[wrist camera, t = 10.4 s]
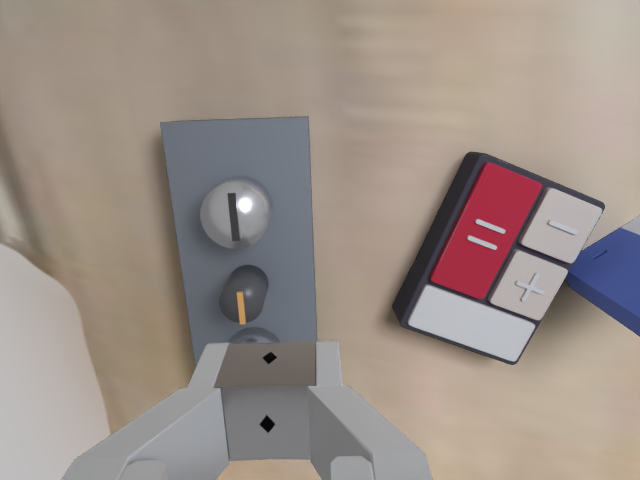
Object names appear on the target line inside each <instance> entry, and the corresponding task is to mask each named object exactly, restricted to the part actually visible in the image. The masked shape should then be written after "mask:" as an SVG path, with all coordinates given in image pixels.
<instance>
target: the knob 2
mask: <svg viewBox="0 0 640 480" xmlns="http://www.w3.org/2000/svg"><path fill="white" fill-rule="evenodd" d="M229 343H280V341H279V339H278V338H277V337H276V336H275V335H274V334H273V333H272V332H270V331H268V330H266V329H263V328H259V327H249V328H245V329H242V330H240V331H238V332H237V333H236V334H235V335H234V336H233V337H232V338H231V340H230V342H229Z"/></svg>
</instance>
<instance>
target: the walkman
mask: <svg viewBox="0 0 640 480" xmlns="http://www.w3.org/2000/svg"><path fill="white" fill-rule="evenodd" d="M566 280H567V282H568V284H569V285H570V287H571V289H573V290H574V291H576V292H577V293H578V294H580V295H581V296H583V297H584V298H586V299H587V300H588V301H590V302H591V303H593V304H594V305H596V306H597V307H598V308H600V309H601V310H603V311H604V312H606V313H607V314H608V315H610V316H611V317H613V318H614V319H616V320H617V321H618V322H620V323H621V324H623V325H624V326H625V327H627V328H628V329H630V330H631V331H633V332H634V333H635V334H637V335H638V336H640V216H638V217H637V218H635V219H633V220H632V221H630V222H629V223H627V224H625V225H624V226H622V227H620V228H619V229H617V230H616V231H614V232H612V233H611V234H609V235H608V236H606V237H604V238H603V239H601V240H599V241H598V242H596V243H594V244H593V245H591V246H589V247H588V248H586V249H584V250H583V251H581V252H580V253H579V255H578V257H577V258H576V260H575V262H574V264H573V265H572V267H571V269H570V271H569V272H568V274H567V276H566Z"/></svg>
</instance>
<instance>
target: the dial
mask: <svg viewBox="0 0 640 480" xmlns="http://www.w3.org/2000/svg"><path fill="white" fill-rule="evenodd" d="M268 285H269V282H268V278H267V276H266V274H265V273H264V271H263V270H261V269H260V268H258V267H256V266H253V265H243V266H240V267H238V268H236V269H235V270H234V271H233V272H232V274H231V276H230V278H229V280H228V282H227V284H226V286H225V288H224V290H223V291H222V293H221V296H220V299H219V306H220V309H221V311H222V313H223V314H224V315H225V317H227V318H228V319H229V320H231V321H233V322H237V323H240V324H246V323H248V322H251V321H253V320H255V319H256V318H257V317H258V316H259V315H260V314H261V312H262V309H263V305H264V301H265V297H266V294H267V290H268Z"/></svg>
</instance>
